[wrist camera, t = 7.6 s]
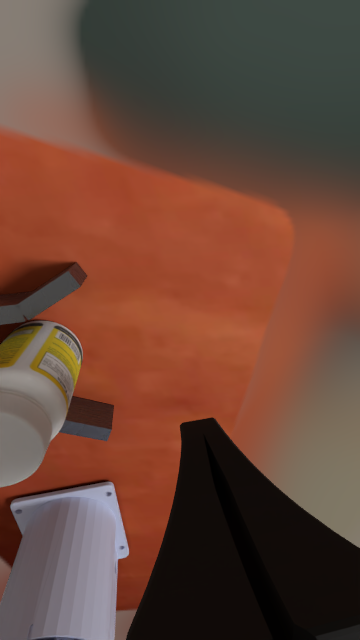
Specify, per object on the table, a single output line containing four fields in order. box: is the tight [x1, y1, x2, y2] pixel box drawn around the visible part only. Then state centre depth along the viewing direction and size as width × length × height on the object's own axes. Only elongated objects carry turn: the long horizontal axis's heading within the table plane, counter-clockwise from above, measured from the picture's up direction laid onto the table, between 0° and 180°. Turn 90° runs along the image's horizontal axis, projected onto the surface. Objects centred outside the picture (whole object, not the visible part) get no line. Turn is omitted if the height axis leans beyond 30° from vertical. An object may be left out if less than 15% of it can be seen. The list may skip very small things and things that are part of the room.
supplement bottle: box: [0, 321, 83, 487], centre depth 15 cm, size 5×5×8 cm
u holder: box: [0, 262, 114, 441], centre depth 18 cm, size 12×9×2 cm
